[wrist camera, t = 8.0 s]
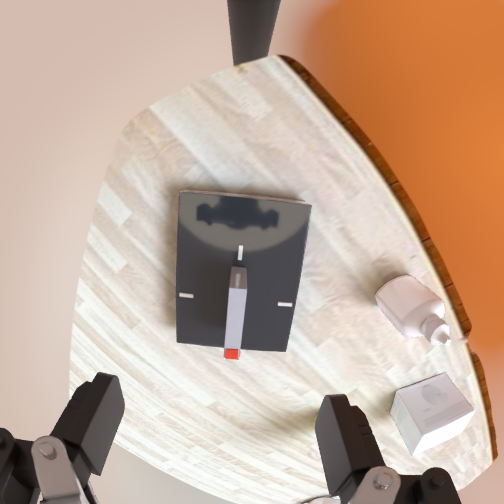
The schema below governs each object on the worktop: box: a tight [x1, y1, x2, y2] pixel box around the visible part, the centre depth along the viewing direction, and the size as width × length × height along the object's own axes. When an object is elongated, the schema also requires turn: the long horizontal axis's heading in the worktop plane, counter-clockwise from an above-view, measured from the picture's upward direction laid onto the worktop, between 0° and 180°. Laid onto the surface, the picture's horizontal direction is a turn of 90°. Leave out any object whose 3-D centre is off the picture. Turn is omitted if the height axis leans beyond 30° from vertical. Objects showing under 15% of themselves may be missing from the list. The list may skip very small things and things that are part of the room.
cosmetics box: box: [390, 373, 475, 456], centre depth 33 cm, size 10×6×10 cm, turn 97°
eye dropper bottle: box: [375, 275, 451, 346], centre depth 26 cm, size 4×6×12 cm
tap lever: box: [224, 266, 247, 360], centre depth 26 cm, size 7×1×5 cm, turn 174°
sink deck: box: [176, 189, 312, 352], centre depth 29 cm, size 16×12×3 cm
